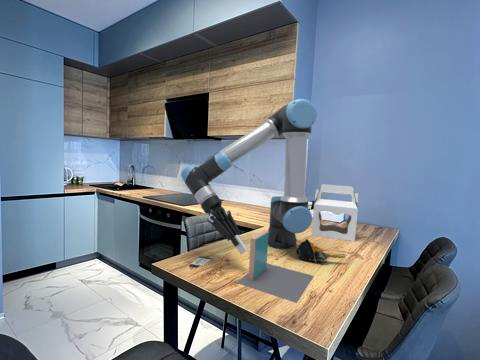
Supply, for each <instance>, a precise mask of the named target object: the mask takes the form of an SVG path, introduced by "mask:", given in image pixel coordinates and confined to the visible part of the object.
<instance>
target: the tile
mask: <svg viewBox="0 0 480 360" xmlns="http://www.w3.org/2000/svg"><path fill="white" fill-rule="evenodd" d="M268 235H269V231H268V230H263V231H261V232H259V233H257V234H256V235H254V236H252V237H251V238H250V245H249V247H250V248H249V261H248V262H249V266H248V273H249V280H254V279H255V278H256V277H257V276H259V275H260V274H261V273H262V272H263V271H264V270H265V269H266V267H267V263H268V247H269V245H268Z"/></svg>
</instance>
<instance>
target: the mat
mask: <svg viewBox="0 0 480 360" xmlns="http://www.w3.org/2000/svg"><path fill="white" fill-rule="evenodd" d="M313 278H315V276H314V275H313V274H308V273H305V272H301V271H297V270H293V269H289V268H286V267H282V266H279V265H275V264H271V263H268V262H267V267H266V269H265V270H264V271H263V272H262V273H261V274H260V275H259V276H257V277H256V278H255V279H254V280H249V272H247V273H246V274H245V275H244V276H242V278H240V279H239V280H238V281H237V282H235V283H236V284H238V285H241V286H244V287H247V288H250V289H253V290H256V291H259V292H262V293H265V294H267V295H270V296H275V297H278V298H280V299H284V300H286V301H289V302H293V303H295V304H297V303H298V302H299V300H300V299H301V297H302V296H303V294H304V293H305V291H306V289H307V288H308V286H309V285H310V284H311V281H312V280H313Z"/></svg>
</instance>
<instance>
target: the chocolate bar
mask: <svg viewBox="0 0 480 360" xmlns="http://www.w3.org/2000/svg"><path fill="white" fill-rule="evenodd" d="M213 259H214V258H212V257H207V256H198V257H197V258H196V259H195V260H194V261H192V262H191V263H190V264H189V267H190V268H195V269H198V268H199V267H202V266H203V265H204V264H207V263H209V262H210V261H212V260H213Z"/></svg>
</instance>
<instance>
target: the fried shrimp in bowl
mask: <svg viewBox="0 0 480 360" xmlns="http://www.w3.org/2000/svg"><path fill="white" fill-rule="evenodd" d="M326 251H328V250H327V249H323V248H321V247H319V246H316V245H315V244H314V242H311V241H309V239H305V240H304V241H302V242H301V243H300V244H299V245H298V247H297V248H296V249H295V253H296V255H297V257H298V259H302V260H305V261H314V262H315V263H318V264H319V263H324V261H326V260H328V258H334V259H345V258H346V255H345V254H344V253H330V252H328V253H327V252H326Z"/></svg>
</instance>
